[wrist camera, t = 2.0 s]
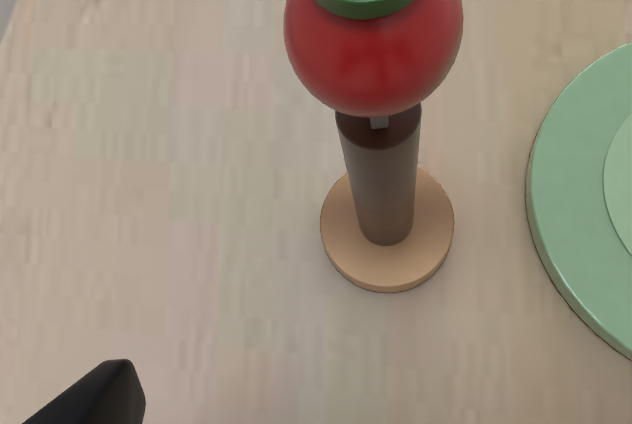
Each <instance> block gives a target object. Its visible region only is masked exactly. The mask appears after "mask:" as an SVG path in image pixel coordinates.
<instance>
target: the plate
mask: <svg viewBox="0 0 632 424" xmlns="http://www.w3.org/2000/svg"><path fill="white" fill-rule="evenodd" d="M526 206H527V214H528V221H529V225H530V229H531V232H532V236H533V240H534V244H535V246H536V248H537V251H538V253H539V255H540V258H541V260H542V263H543V265H544V267H545V269H546V271H547V272H548V274H549V276H550V277H551V279H552V281H553V283H554V284H555V286H556V288H557V289H558V291H559V292H560V293H561V295H562V296H563V297H564V299H565V300H566V301H567V303H568V304H569V305H570V307H571V308H572V309H573V311H574V312H575V313H576V314H577V315H578V316H579V317H580V318H581V319H582V320H583V321H584V322H585V323H586V324H587V325H588V326H589V327H590V328H591V329H592V330H593V331H594V332H595V333H596V334H597V335H599V336H600V337H601V338H602V339H603V340H605V341H606V342H607V343H608V344H609V345H611V346H612V347H613V348H614V349H615V350H617V351H618V352H620V353H621V354H623V355H624V356H626V357H628V358H629V359H631V360H632V42H630V43H628V44H625V45H623V46H621V47H619V48H616V49H614V50H613V51H611V52H609V53H607V54H606V55H604V56H602V57H601V58H599V59H597V60H596V61H594V62H593V63H592V64H591V65H589V66H588V67H587V68H585V69H584V70H583V71H582V72H580V73H579V74H578V75H577V76H576V77H575V78H574V79H573V80H572V81H571V82H570V83H569V84H568V85H567V86H566V87H565V88H564V89H563V91H562V92H561V94H560V95H559V96H558V98H557V99H556V101H555V102H554V103H553V105H552V106H551V108H550V110H549V112H548V114H547V115H546V117H545V119H544V121H543V123H542V125H541V127H540V129H539V131H538V133H537V135H536V138H535V141H534V144H533V147H532V150H531V153H530V156H529V162H528V167H527V173H526Z"/></svg>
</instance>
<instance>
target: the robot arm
mask: <svg viewBox="0 0 632 424" xmlns="http://www.w3.org/2000/svg"><path fill="white" fill-rule="evenodd" d="M145 406H146V401H145V395H144V392H143V389H142V387H141V384H140V381H139V379H138V376H137V373H136V370H135V368H134V365H133V363H132V362H131V361H130V360H128V359H117V360H107V361H104V362H102V363H101V364H99V365H98V366H97V367H95V368H94V369H93V370H92V371H90V372H89V373H88V374H86V375H85V376H84V377H82V378H81V379H80V380H78V381H77V382H76V383H75V384H73V385H72V386H71V387H69V388H68V389H67V390H65V391H64V392H63V393H61V394H60V395H59V396H58V397H56V398H55V399H54V400H52V401H51V402H50V403H48V404H47V405H46V406H44V407H43V408H42V409H41V410H39V411H38V412H37V413H35V414H34V415H33V416H31V417H30V418H29V419H27V420H26V421H25V422H23V423H22V424H142V422H143V418H144V413H145Z"/></svg>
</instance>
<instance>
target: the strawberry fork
mask: <svg viewBox="0 0 632 424" xmlns="http://www.w3.org/2000/svg"><path fill="white" fill-rule="evenodd" d="M462 33H463V8H462V1H461V0H287V2H286V7H285V12H284V41H285V46H286V51H287V54H288V58H289V60H290V63H291V65H292V67H293V69H294V71H295V73H296V75H297V77H298V78H299V80H300V81H301V82H302V84H303V85H304V86H305V88H306V89H307V90H308V91H309V92H310V93H311V94H312V95H313V96H314V97H316V98H317V99H318V100H319V101H321V102H322V103H323V104H325V105H327V106H328V107H330V108H332V109H334V110H335V118H336V123H337V128H338V132H339V137H340V141H341V146H342V150H343V154H344V159H345V163H346V168H347V172H348V173H346V174H345V175H344V176H342V177H341V178H340V179H339V180H338V181H337V182H336V183H335V184H334V186H333V187H332V188H331V190H330V191H329V193H328V195H327V196H326V199H325V201H324V203H323V207H322V210H321V216H320V232H321V237H322V241H323V244H324V247H325V249H326V251H327V253H328V256H329V258H330V259H331V261H332V263H333V264H334V266H335V267H336V268H337V270H338V271H339V272H340V273H341V274H342V275H343V276H344V277H345V278H346V279H348V280H349V281H351V282H352V283H354V284H356V285H357V286H359V287H362V288H364V289H367V290H371V291H375V292H383V293H392V292H400V291H404V290H408V289H411V288H413V287H415V286H418V285H419V284H421V283H423V282H424V281H426V280H427V279H428V278H430V277H431V276H432V275H433V274H434V273H435V272H436V271H437V270H438V269H439V267H440V266H441V264H442V263H443V261H444V259H445V257H446V256H447V253H448V250H449V247H450V244H451V241H452V237H453V232H454V214H453V210H452V206H451V203H450V200H449V198H448V196H447V194H446V192H445V191H444V189H443V188H442V186H441V185H440V184H439V183H438V182H437V181H436V180H435V179H434V178H433V177H432V176H431V175H430V174H428V173H427V172H425V171H424V170H422V169H421V168H419V167H417V164H418V151H419V138H420V126H421V113H422V109H421V102H422V101H423V100H424V99H425V98H427V97H428V96H429V95H430V94H431V93H432V92H433V91H434V90H435V89H436V88H437V87H438V86H439V85H440V84H441V83H442V81H443V80H444V79H445V77H446V76H447V74H448V72H449V71H450V69H451V67H452V65H453V64H454V62H455V59H456V57H457V54H458V51H459V48H460V44H461V39H462Z"/></svg>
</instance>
